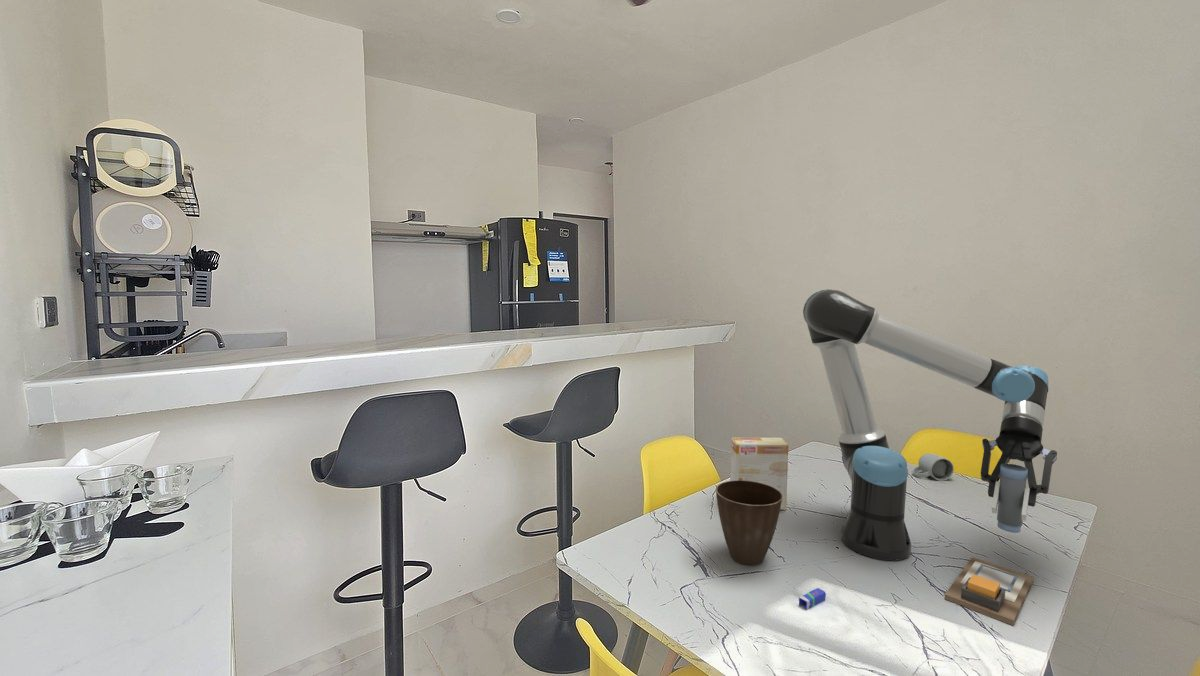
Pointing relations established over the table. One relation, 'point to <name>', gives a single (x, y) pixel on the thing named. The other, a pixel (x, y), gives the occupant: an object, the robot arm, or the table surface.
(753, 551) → the plant pot
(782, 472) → the coffeecake box
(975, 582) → the button
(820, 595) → the eraser
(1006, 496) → the cup
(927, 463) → the ceramic mug
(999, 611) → the wooden board
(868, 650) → the table surface
